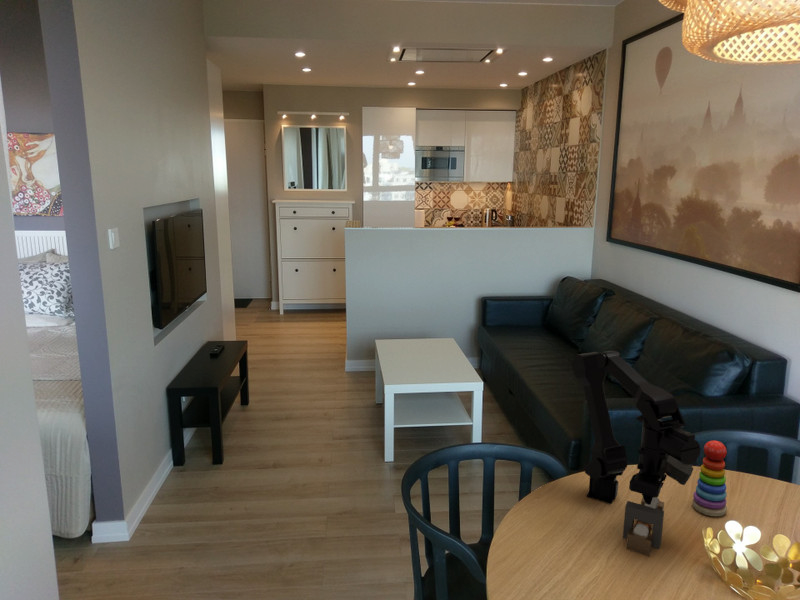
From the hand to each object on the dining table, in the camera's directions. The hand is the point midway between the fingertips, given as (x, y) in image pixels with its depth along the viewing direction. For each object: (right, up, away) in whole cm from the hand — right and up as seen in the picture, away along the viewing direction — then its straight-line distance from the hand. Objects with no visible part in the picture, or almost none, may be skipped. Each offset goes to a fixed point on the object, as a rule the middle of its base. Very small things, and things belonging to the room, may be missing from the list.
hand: (648, 503), depth 137 cm
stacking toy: (+20, -5, +9) cm, 22 cm away
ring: (-3, -8, -4) cm, 9 cm away
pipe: (-1, -7, 0) cm, 7 cm away
